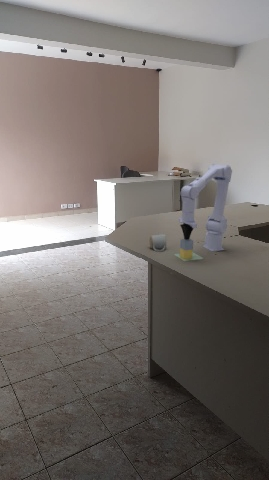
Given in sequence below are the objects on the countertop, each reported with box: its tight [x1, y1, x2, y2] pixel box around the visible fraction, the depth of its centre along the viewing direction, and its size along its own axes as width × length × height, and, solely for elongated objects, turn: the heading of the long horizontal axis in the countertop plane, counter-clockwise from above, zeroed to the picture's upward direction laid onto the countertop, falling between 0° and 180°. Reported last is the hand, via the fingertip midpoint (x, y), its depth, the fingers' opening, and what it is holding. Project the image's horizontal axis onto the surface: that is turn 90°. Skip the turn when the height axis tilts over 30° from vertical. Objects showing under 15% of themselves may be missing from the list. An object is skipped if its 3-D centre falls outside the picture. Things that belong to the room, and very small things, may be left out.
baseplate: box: [173, 251, 204, 262], centre depth 182 cm, size 11×11×1 cm
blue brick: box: [179, 238, 194, 250], centre depth 178 cm, size 4×4×4 cm
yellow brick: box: [179, 247, 194, 259], centre depth 179 cm, size 4×4×4 cm
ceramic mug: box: [149, 234, 167, 253], centre depth 193 cm, size 11×8×8 cm
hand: (186, 239), depth 177 cm, fingers closed
